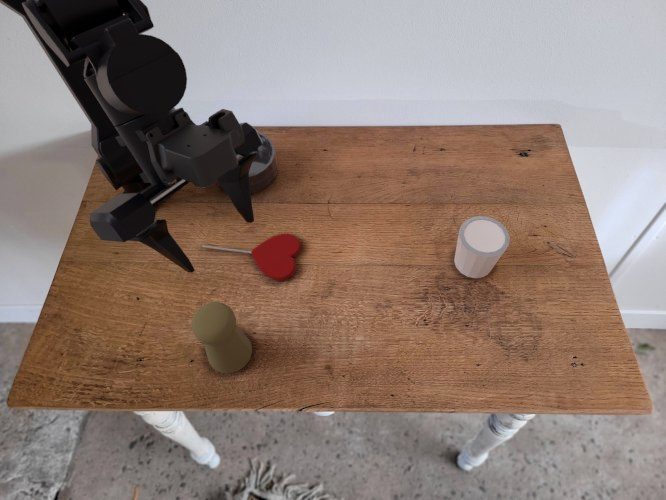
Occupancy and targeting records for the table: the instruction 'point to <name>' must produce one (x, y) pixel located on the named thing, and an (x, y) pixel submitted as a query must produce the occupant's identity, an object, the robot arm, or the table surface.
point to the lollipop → (274, 255)
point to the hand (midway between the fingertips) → (222, 245)
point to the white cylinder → (480, 246)
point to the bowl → (262, 165)
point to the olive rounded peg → (221, 337)
